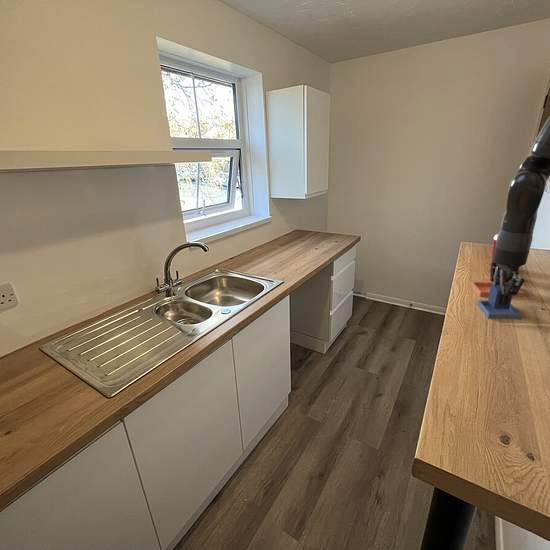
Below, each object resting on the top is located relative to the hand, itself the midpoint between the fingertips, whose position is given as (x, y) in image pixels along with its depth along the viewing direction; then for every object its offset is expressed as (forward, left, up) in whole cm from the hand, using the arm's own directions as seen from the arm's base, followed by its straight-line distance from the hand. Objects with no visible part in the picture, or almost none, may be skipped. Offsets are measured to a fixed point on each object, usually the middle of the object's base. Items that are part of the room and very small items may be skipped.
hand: (499, 301), depth 88 cm
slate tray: (0, 0, -4) cm, 4 cm away
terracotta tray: (-5, -14, -4) cm, 15 cm away
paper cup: (-14, -33, -4) cm, 36 cm away
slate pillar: (0, 0, -1) cm, 1 cm away
